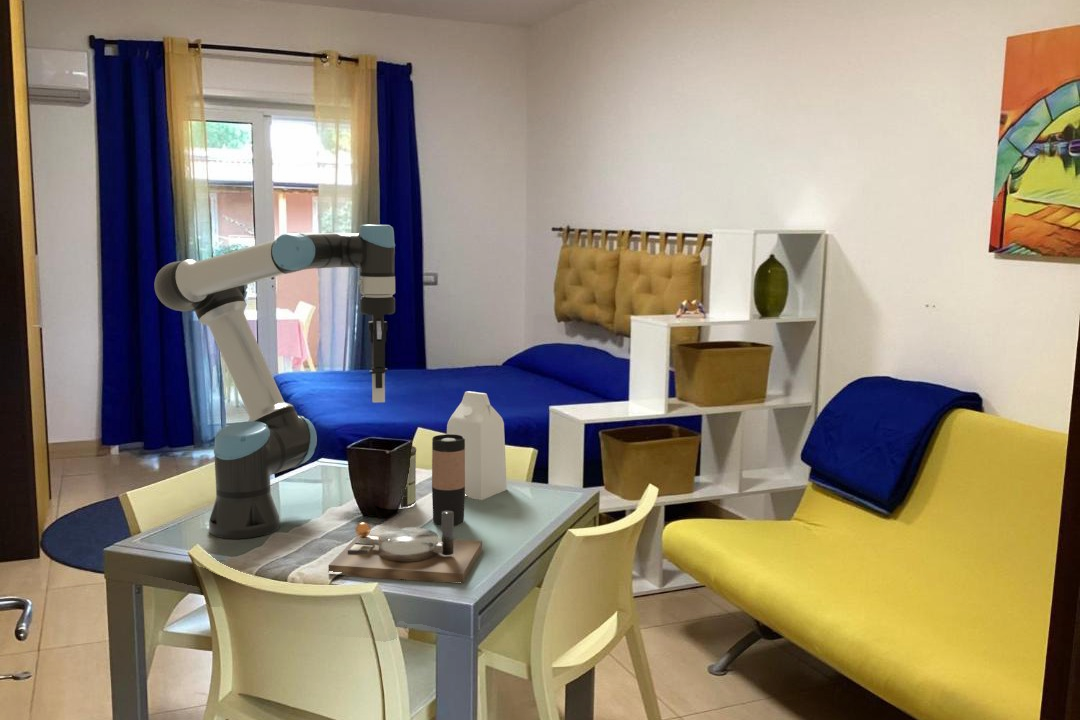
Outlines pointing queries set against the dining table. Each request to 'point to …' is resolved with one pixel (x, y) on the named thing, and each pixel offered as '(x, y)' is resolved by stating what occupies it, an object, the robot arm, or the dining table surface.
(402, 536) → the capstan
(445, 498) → the travel mug
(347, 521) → the dining table surface
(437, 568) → the stand
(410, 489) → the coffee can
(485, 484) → the milk
